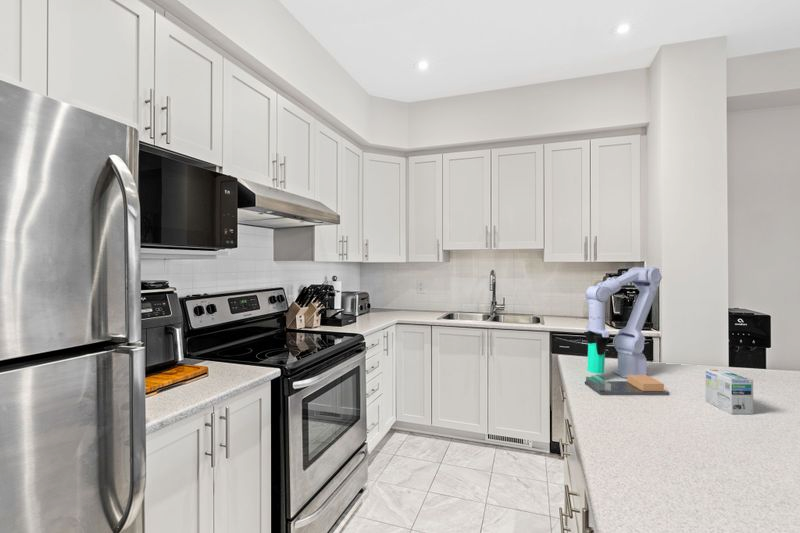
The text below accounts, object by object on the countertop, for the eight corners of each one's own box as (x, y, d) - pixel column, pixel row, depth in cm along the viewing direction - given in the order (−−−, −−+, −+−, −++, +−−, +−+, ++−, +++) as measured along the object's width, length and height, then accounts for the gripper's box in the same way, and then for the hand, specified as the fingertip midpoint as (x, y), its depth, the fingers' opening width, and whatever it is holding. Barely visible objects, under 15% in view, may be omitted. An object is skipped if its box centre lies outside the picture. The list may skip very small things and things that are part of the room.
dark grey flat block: (647, 383, 146) (647, 374, 145) (668, 395, 134) (668, 385, 133) (584, 383, 146) (584, 374, 146) (600, 395, 134) (600, 385, 134)
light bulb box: (754, 414, 117) (754, 378, 117) (731, 414, 117) (731, 378, 117) (725, 401, 128) (725, 368, 127) (704, 401, 128) (704, 368, 127)
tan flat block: (646, 381, 145) (646, 375, 144) (664, 391, 135) (664, 383, 134) (627, 381, 145) (627, 375, 145) (643, 391, 135) (643, 383, 135)
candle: (601, 370, 154) (602, 339, 154) (606, 374, 148) (607, 342, 148) (585, 368, 155) (586, 338, 155) (589, 372, 149) (590, 341, 149)
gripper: (578, 314, 158) (578, 348, 159) (595, 320, 144) (595, 357, 144) (595, 314, 158) (595, 348, 158) (614, 320, 144) (614, 357, 144)
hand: (596, 352), depth 151 cm, fingers closed on candle, 6 cm apart
